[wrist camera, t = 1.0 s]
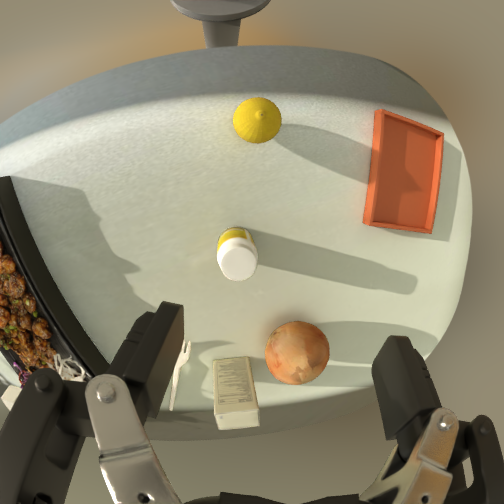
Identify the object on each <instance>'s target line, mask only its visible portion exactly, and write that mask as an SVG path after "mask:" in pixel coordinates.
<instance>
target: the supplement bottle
mask: <svg viewBox="0 0 504 504" xmlns="http://www.w3.org/2000/svg"><path fill="white" fill-rule="evenodd" d="M217 260H218V263H219V266H220V267H221V270H222V272H223V274H224V275H225V276H226V277H227V278H229V279H230V280H233V281H244V280H246V279H248V278H250V277H251V276H252V275H253V274H254V272H255V270H256V268H257V261H258V252H257V249H256V247H255V244H254V241H253V238H252V236H251V234H250V233H249V232H248V231H247V230H246V229H244V228H242V227H238V226H233V227H229V228H227V229H226V230H224V231H223V232H222V233H221V235H220V237H219V239H218V250H217Z"/></svg>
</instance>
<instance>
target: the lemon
mask: <svg viewBox="0 0 504 504" xmlns="http://www.w3.org/2000/svg"><path fill="white" fill-rule="evenodd" d="M281 120H282V119H281V113H280V111H279V109H278V107H277V106H276V105H275V104H274V103H273V102H271V101H270V100H268V99H265V98H260V97H257V98H251V99H247V100H246V101H244V102H242V103H241V104H240V105H239V106H238V107H237V109H236V111H235V113H234V117H233V125H234V128H235V130H236V132H237V134H238V135H239V136H240V137H241V138H242V139H244V140H246V141H247V142H251V143H263V142H266V141H269V140H271V139H272V138H273V137H274V136H275V135H276V134H277V133H278V131H279V129H280V126H281Z"/></svg>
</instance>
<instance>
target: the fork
mask: <svg viewBox="0 0 504 504" xmlns="http://www.w3.org/2000/svg"><path fill="white" fill-rule="evenodd" d="M184 348H185V340H184V341H183V346H182V351H181V352H180V354H179V357H178V360H177V362H176V365H175V368H174V374H173V382H172V390H171V398H170V407H169V410H171V411H172V410H173V406H174V400H175V395H176V390H177V385H178V380H179V375H180V370H181V366H182V365H184V364H185V363H186V362H187V361H188V359H189V356H190V350H191V343H190V341H189V342H188V346H187V349H186V352H184Z"/></svg>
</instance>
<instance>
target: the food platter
mask: <svg viewBox="0 0 504 504" xmlns="http://www.w3.org/2000/svg"><path fill="white" fill-rule="evenodd" d="M0 351H1V353H2V354H3V355H4V357H5V358H6V360H7V361H8V362H9V364H10V365H11V367H12V368H13V369H14V370H15V372H16V373H17V374H18V376H19V381H20V382H21V384H22V385H21V387H20V388H21V389H22V388H23V387H24V385H25V383H26V381H27V380H28V378H29V376H30V375H31V374H32V373H33V372H34V371H35V370H37V369H40V368H51V369H54V370H56V371H57V372H58V373H59V374H60V376H61V378H62V379H63V380H71V381H81V382H88V381H90V380H91V379H93V378H94V377H96V376H98V375H102V374H105V372H106V371H107V370H108V368H109V366H110V365H109V364H108V363H107V361H106V360H105V359H104V357H103V356H102V355H101V353H100V352H99V351H98V349H97V348H96V347H95V345H94V344H93V342H92V341H91V340H90V338H89V337H88V335H87V334H86V332H85V331H84V330H83V328H82V327H81V325H80V324H79V322H78V320H77V319H76V317H75V316H74V314H73V313H72V311H71V309H70V308H69V306H68V305H67V303H66V301H65V300H64V298H63V296H62V294H61V293H60V291H59V289H58V287H57V286H56V284H55V282H54V280H53V278H52V276H51V275H50V273H49V271H48V269H47V267H46V265H45V263H44V261H43V259H42V257H41V255H40V253H39V251H38V248H37V246H36V244H35V242H34V240H33V237H32V235H31V233H30V230H29V228H28V226H27V223H26V221H25V218H24V215H23V213H22V210H21V208H20V205H19V202H18V199H17V196H16V193H15V190H14V187H13V184H12V181H11V178H10V176H5V177H0ZM21 379H22V381H21Z"/></svg>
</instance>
